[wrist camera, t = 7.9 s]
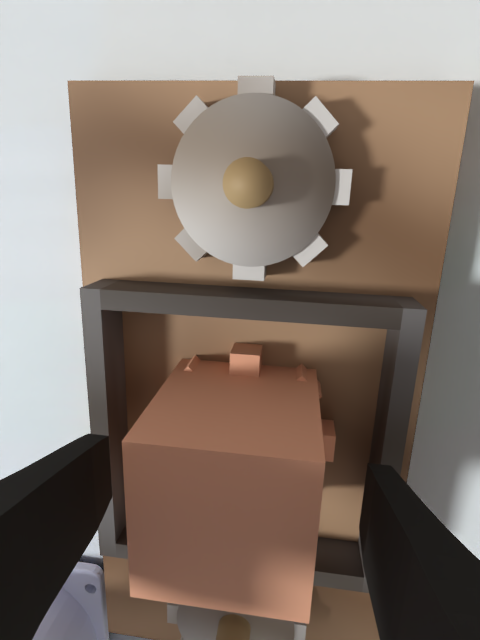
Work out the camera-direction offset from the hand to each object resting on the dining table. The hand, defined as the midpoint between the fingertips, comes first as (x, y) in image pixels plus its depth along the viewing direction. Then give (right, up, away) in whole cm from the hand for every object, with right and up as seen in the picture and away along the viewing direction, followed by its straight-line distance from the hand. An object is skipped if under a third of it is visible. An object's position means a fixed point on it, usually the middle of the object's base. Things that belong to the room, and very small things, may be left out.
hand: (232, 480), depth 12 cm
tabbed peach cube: (0, +1, +3) cm, 3 cm away
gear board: (+1, +1, +4) cm, 4 cm away
